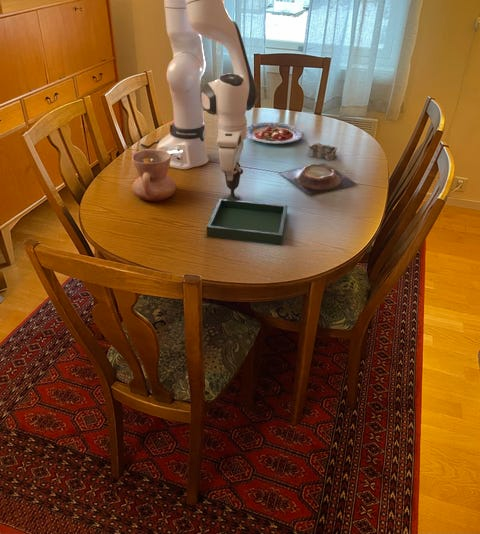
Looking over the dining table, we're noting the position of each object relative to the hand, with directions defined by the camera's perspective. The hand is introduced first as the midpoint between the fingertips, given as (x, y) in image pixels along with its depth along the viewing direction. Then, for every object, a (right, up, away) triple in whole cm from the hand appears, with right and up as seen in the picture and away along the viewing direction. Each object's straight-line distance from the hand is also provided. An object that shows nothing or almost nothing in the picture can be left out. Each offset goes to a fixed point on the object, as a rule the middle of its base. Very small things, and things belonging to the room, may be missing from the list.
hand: (233, 173), depth 147 cm
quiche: (+31, +2, +20) cm, 37 cm away
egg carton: (+36, +15, +38) cm, 55 cm away
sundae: (0, -7, +6) cm, 10 cm away
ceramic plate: (+17, +27, +54) cm, 63 cm away
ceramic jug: (-27, -7, +6) cm, 28 cm away
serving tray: (+5, -18, -8) cm, 20 cm away
